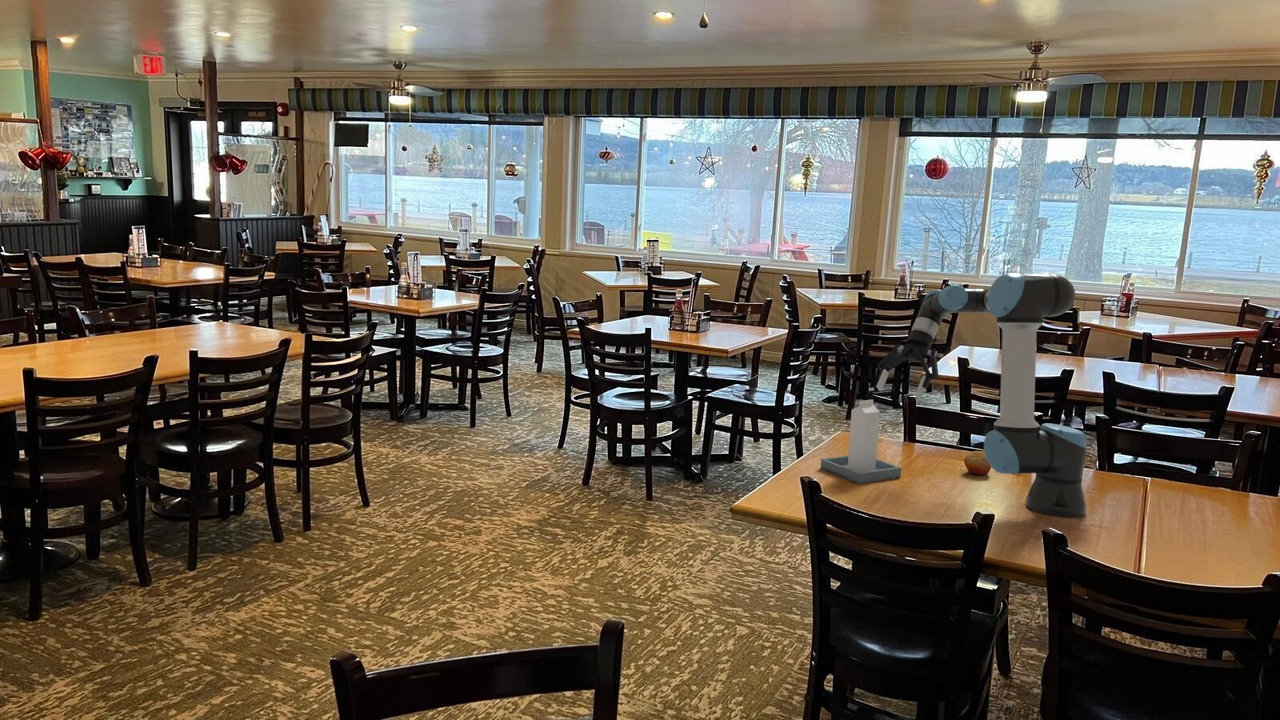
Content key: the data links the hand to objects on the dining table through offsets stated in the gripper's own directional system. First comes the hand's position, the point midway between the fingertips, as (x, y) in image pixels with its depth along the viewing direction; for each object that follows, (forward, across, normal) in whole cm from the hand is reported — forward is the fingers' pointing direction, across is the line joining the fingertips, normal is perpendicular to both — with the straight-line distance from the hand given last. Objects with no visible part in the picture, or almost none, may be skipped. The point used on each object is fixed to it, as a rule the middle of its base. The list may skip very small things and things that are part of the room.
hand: (898, 392), depth 291 cm
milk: (+27, +3, -3) cm, 27 cm away
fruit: (+11, -21, -26) cm, 35 cm away
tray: (+27, +3, -3) cm, 28 cm away
